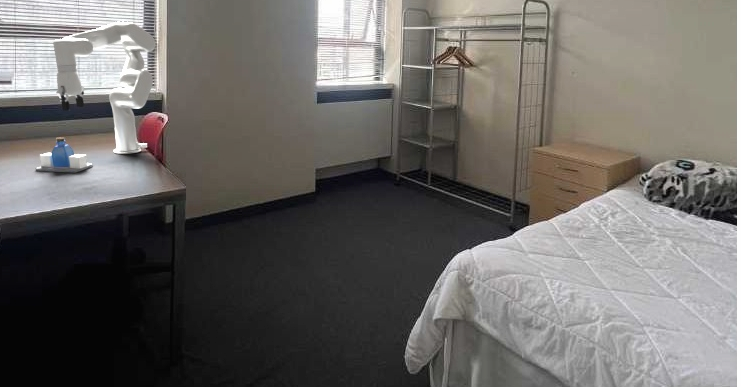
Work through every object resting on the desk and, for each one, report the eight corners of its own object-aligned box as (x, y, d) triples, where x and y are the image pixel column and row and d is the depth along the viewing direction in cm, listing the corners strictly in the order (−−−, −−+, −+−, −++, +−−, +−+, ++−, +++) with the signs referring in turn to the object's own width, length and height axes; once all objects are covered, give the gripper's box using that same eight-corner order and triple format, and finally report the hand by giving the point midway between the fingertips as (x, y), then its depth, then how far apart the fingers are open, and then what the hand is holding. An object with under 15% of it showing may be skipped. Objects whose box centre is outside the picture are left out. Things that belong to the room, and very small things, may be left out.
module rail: (92, 166, 236) (91, 153, 235) (75, 172, 225) (73, 158, 223) (55, 164, 238) (53, 151, 237) (35, 170, 227) (33, 156, 225)
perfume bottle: (61, 163, 234) (56, 136, 230) (75, 163, 235) (71, 136, 231) (53, 167, 228) (48, 139, 225) (68, 167, 229) (63, 139, 225)
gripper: (72, 67, 240) (78, 105, 245) (45, 70, 224) (52, 111, 229) (87, 67, 239) (93, 106, 244) (62, 70, 223) (69, 111, 228)
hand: (73, 108), depth 237 cm, fingers open, 9 cm apart
